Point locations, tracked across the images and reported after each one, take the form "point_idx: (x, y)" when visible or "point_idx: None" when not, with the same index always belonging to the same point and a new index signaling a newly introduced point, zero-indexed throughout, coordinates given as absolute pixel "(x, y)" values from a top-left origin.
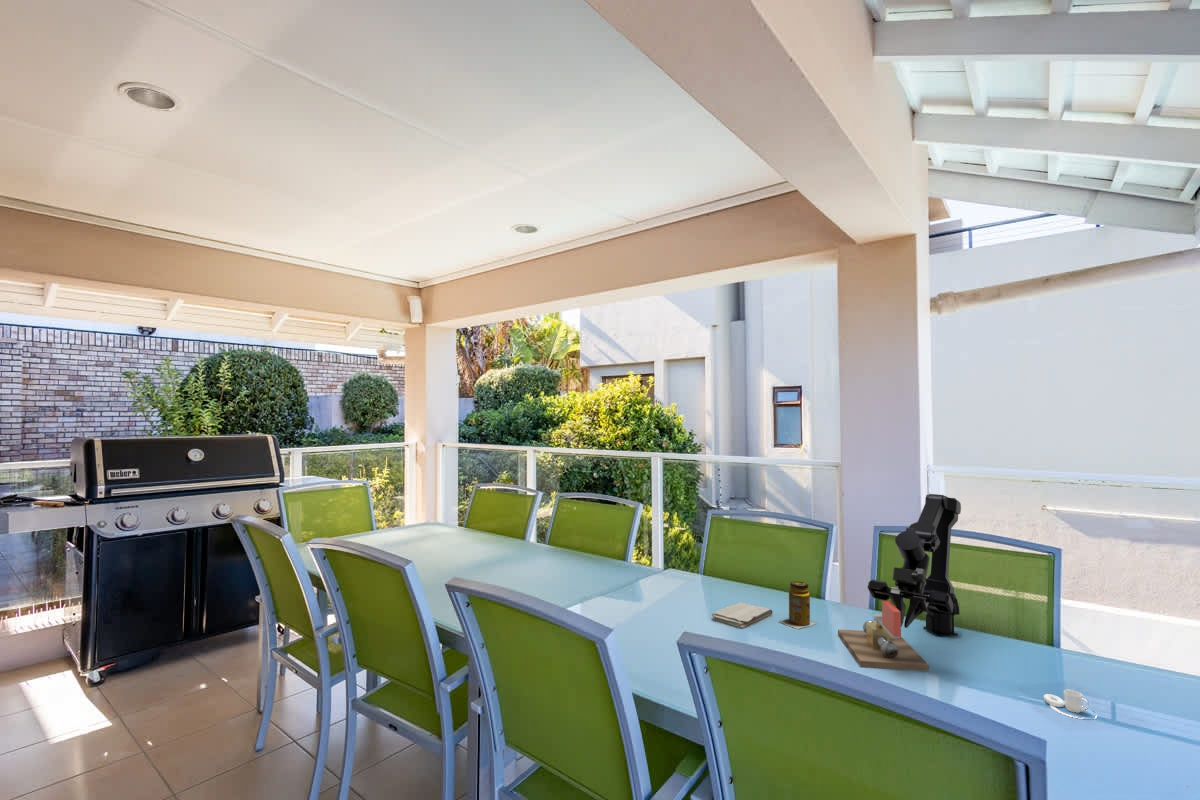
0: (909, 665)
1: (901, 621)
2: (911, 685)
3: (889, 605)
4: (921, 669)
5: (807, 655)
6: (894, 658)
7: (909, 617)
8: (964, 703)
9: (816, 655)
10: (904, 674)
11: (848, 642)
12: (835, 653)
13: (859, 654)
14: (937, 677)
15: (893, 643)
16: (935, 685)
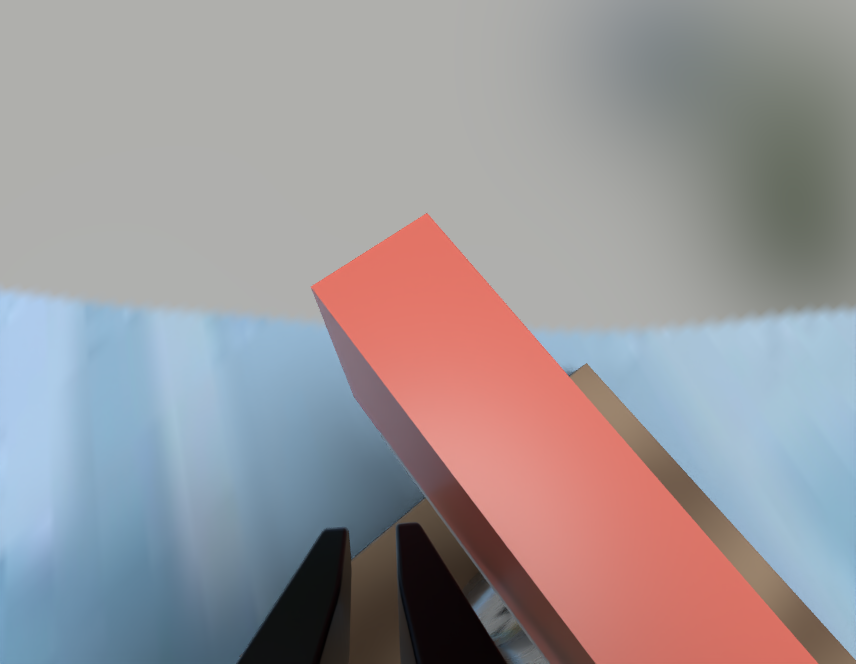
0: (355, 557)
1: (397, 577)
2: (288, 336)
3: (699, 609)
4: None
5: (827, 317)
6: (463, 578)
7: (256, 637)
8: (23, 314)
9: (804, 351)
10: (360, 457)
11: (822, 636)
12: (771, 462)
13: (645, 461)
14: (188, 571)
15: (488, 601)
16: (180, 432)
